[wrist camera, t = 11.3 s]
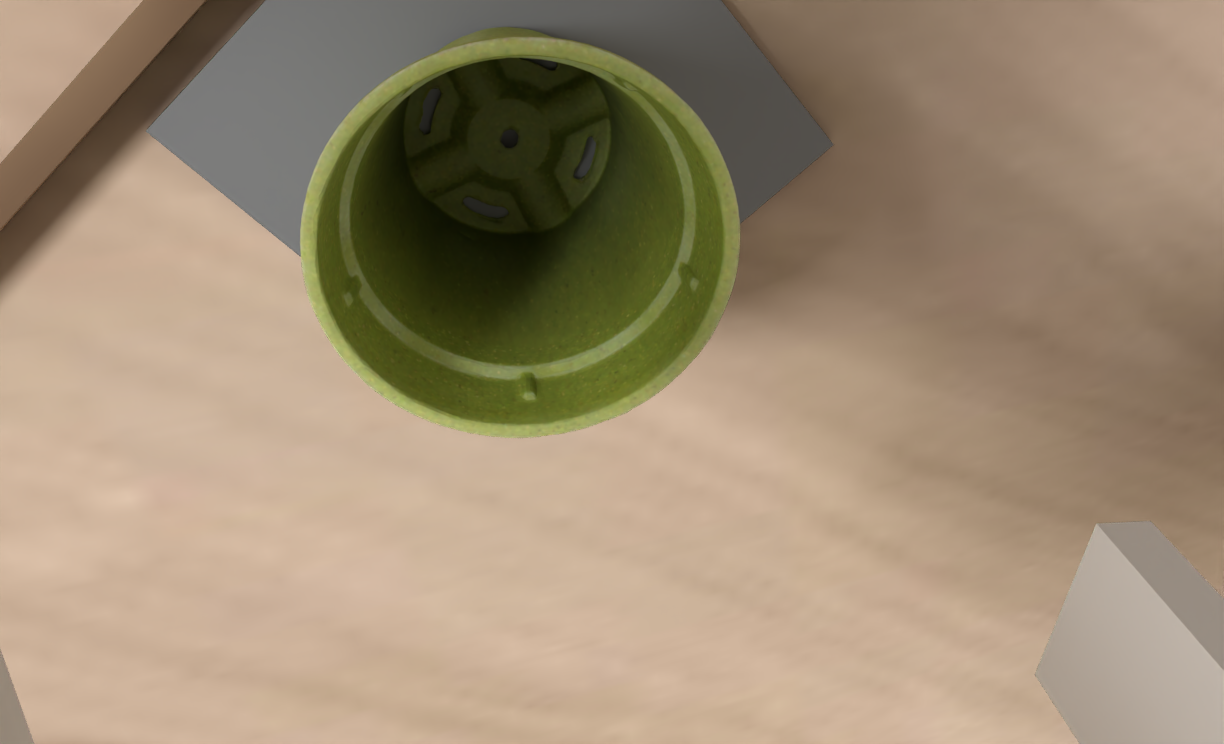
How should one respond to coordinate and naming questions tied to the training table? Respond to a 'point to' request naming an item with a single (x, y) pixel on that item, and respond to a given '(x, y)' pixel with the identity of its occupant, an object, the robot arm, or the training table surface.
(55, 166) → the tray frame
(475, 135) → the plant pot
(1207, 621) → the robot arm
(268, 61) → the mat
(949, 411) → the training table surface
